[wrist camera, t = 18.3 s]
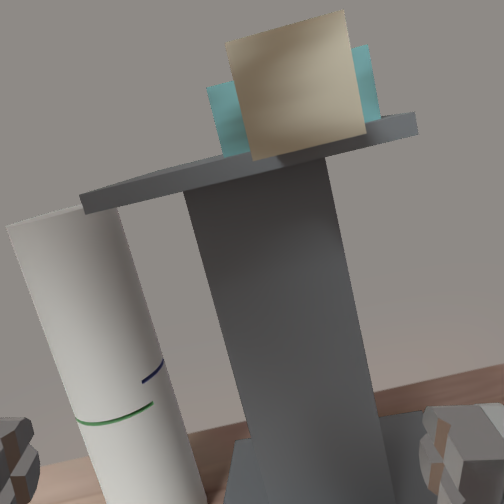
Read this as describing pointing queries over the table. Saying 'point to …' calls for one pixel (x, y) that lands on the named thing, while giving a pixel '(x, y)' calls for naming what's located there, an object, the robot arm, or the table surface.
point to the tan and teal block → (294, 89)
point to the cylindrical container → (108, 355)
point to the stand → (291, 325)
